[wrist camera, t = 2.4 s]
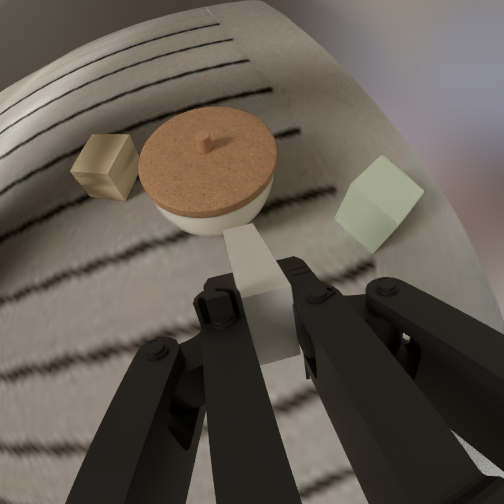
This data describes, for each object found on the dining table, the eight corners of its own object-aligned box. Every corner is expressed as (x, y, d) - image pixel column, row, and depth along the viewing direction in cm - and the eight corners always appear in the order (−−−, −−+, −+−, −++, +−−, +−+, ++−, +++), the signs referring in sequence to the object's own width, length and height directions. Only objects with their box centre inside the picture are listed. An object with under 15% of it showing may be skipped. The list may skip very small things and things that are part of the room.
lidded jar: (208, 146, 31) (197, 79, 22) (293, 191, 29) (306, 122, 20) (141, 217, 28) (103, 157, 19) (227, 278, 25) (213, 228, 17)
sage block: (333, 219, 27) (351, 183, 22) (362, 191, 29) (381, 154, 23) (372, 254, 26) (398, 225, 20) (398, 222, 27) (424, 191, 22)
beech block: (90, 197, 29) (69, 171, 24) (108, 161, 31) (92, 134, 26) (126, 201, 28) (107, 173, 24) (143, 164, 30) (129, 134, 26)
